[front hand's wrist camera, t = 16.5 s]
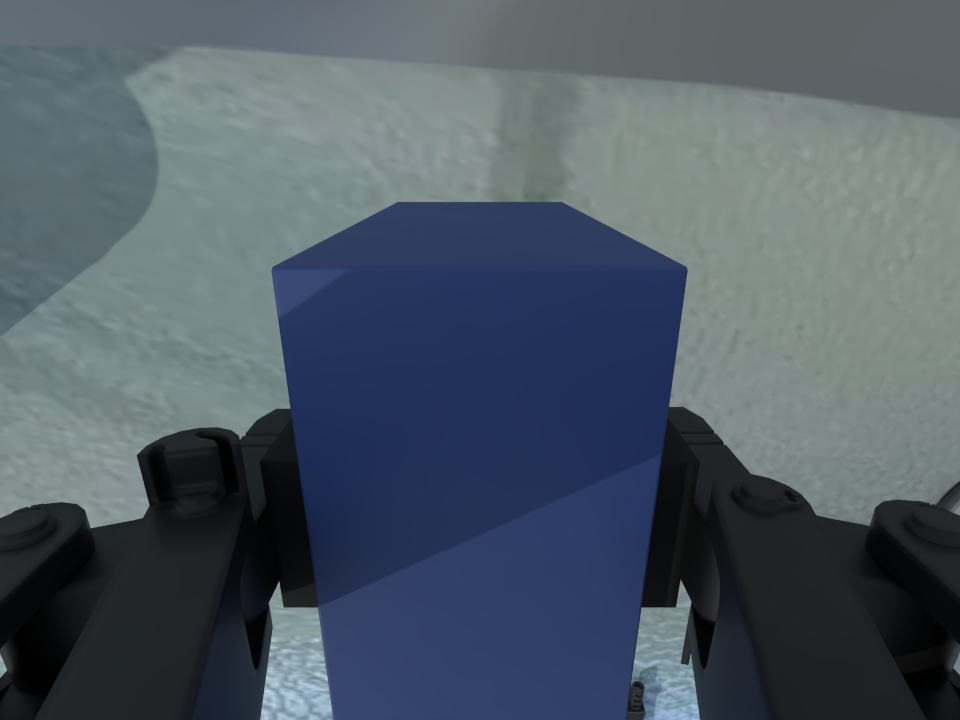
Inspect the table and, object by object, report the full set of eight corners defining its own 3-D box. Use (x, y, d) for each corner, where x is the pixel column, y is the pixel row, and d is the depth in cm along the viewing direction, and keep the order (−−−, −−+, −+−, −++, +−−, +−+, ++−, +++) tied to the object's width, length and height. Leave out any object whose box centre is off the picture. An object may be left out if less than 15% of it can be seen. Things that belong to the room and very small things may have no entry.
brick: (563, 201, 15) (690, 266, 6) (549, 463, 19) (619, 771, 9) (396, 202, 15) (269, 267, 6) (410, 463, 19) (339, 771, 9)
